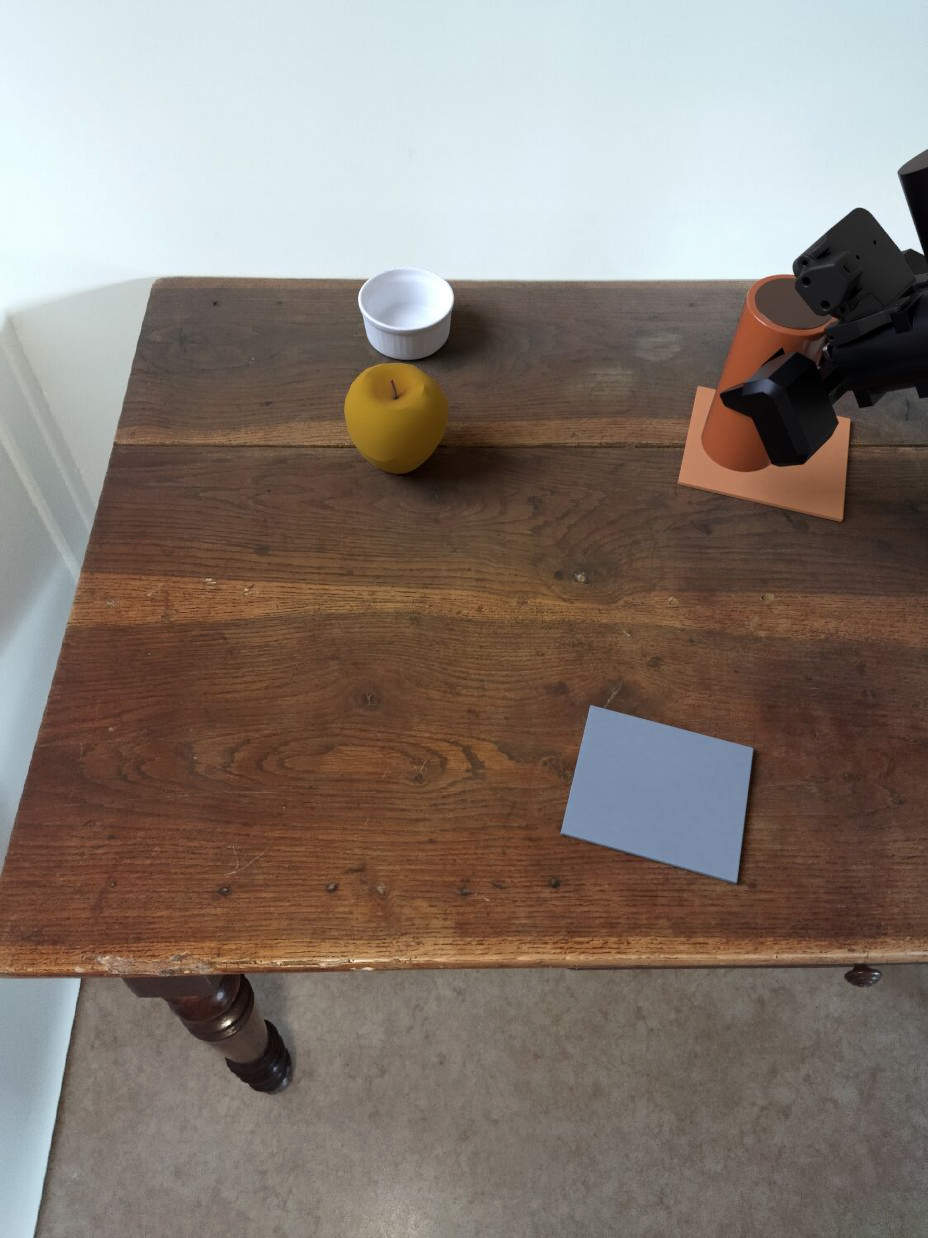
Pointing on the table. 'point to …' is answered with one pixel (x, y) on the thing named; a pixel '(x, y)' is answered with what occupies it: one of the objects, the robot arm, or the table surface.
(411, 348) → the ramekin
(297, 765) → the table surface
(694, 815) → the slate mat
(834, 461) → the terracotta mat
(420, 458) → the apple
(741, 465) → the terracotta pot
